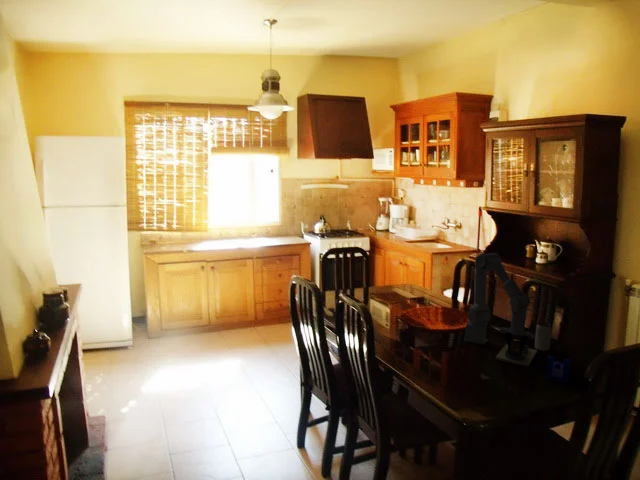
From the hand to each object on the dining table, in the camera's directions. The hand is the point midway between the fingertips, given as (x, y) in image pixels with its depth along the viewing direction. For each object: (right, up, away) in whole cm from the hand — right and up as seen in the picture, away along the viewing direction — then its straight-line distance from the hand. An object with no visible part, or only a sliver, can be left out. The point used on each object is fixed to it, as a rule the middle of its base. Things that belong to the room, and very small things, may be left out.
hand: (515, 350), depth 237 cm
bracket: (+13, -7, -13) cm, 20 cm away
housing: (+2, -3, +4) cm, 6 cm away
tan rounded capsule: (0, -1, 0) cm, 2 cm away
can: (+18, -2, +14) cm, 22 cm away
